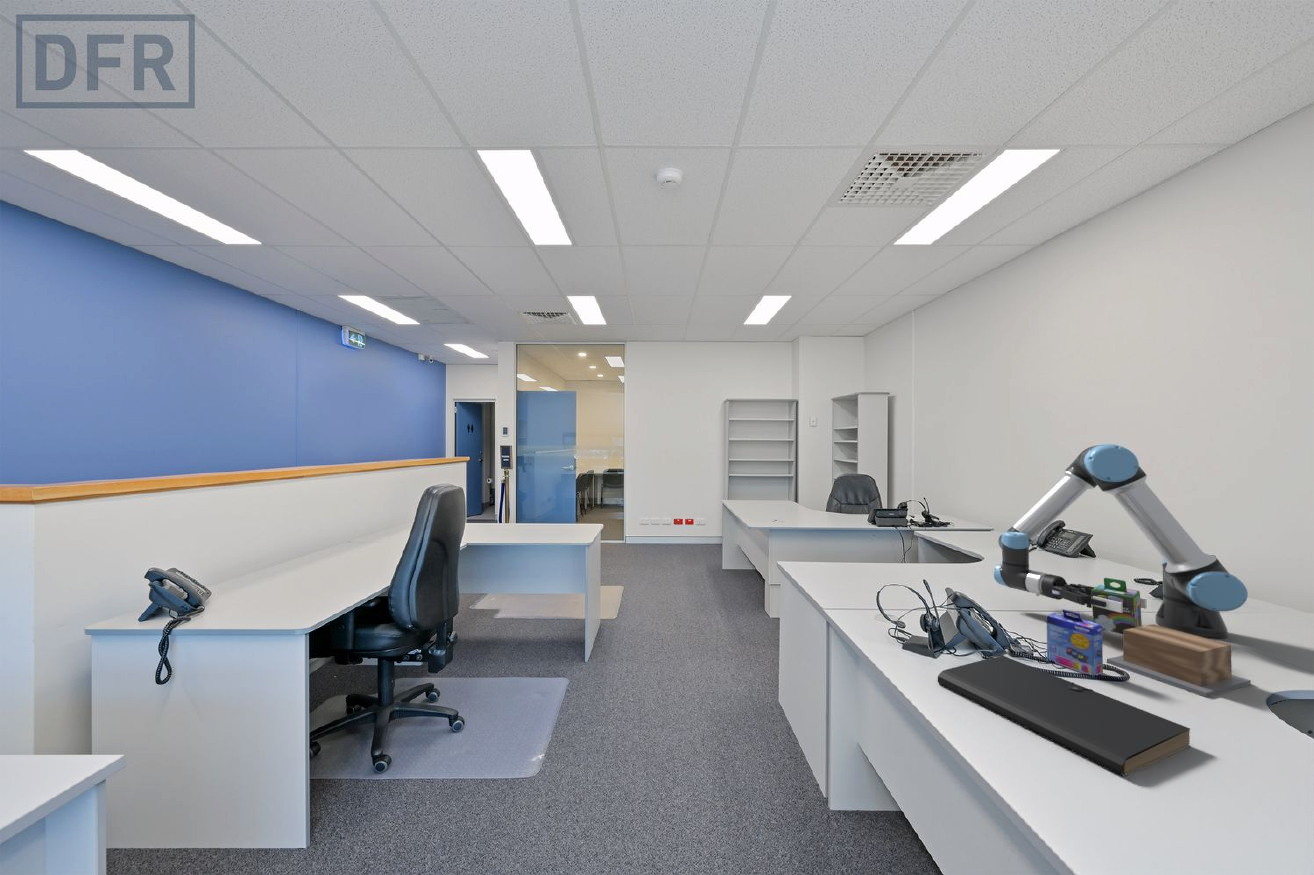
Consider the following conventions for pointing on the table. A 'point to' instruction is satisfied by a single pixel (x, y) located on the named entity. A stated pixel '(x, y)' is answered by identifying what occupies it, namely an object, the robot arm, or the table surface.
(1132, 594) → the chalk box
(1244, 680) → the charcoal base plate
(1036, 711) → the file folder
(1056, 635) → the ink cartridge box
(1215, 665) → the walnut base brick
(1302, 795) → the table surface
